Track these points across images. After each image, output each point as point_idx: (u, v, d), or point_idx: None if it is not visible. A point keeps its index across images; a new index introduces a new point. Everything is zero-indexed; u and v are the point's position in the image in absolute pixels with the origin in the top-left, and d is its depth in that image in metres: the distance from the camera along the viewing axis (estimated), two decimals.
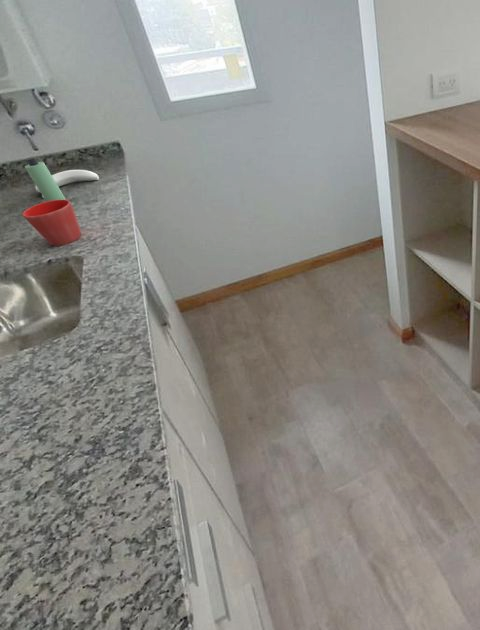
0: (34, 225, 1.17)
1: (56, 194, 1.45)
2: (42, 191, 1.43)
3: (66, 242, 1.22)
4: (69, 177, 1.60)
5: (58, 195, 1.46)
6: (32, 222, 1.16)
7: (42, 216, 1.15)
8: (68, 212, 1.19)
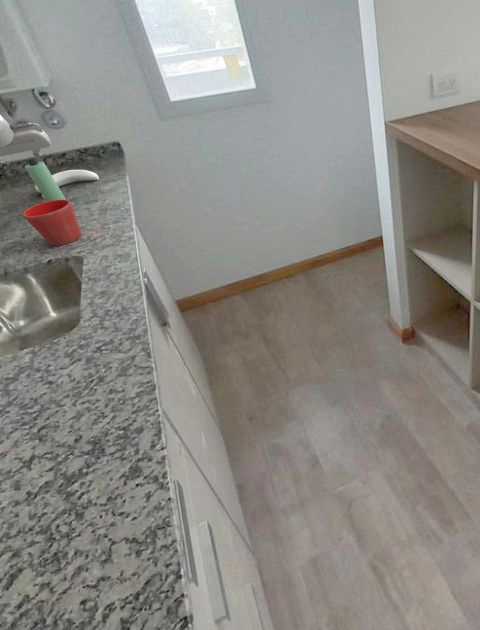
0: (34, 225, 1.17)
1: (56, 194, 1.45)
2: (42, 191, 1.43)
3: (66, 242, 1.22)
4: (69, 177, 1.60)
5: (58, 195, 1.46)
6: (32, 222, 1.16)
7: (42, 216, 1.15)
8: (68, 212, 1.19)
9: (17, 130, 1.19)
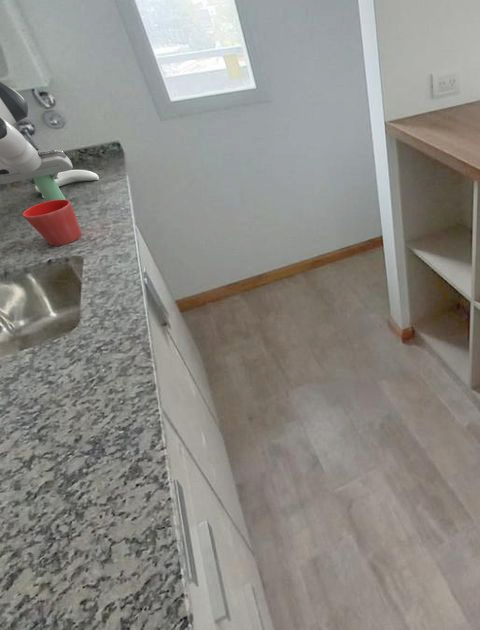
0: (34, 225, 1.17)
1: (56, 194, 1.45)
2: (42, 191, 1.43)
3: (66, 242, 1.22)
4: (69, 177, 1.60)
5: (58, 195, 1.46)
6: (32, 222, 1.16)
7: (42, 216, 1.15)
8: (68, 212, 1.19)
9: (44, 156, 1.34)
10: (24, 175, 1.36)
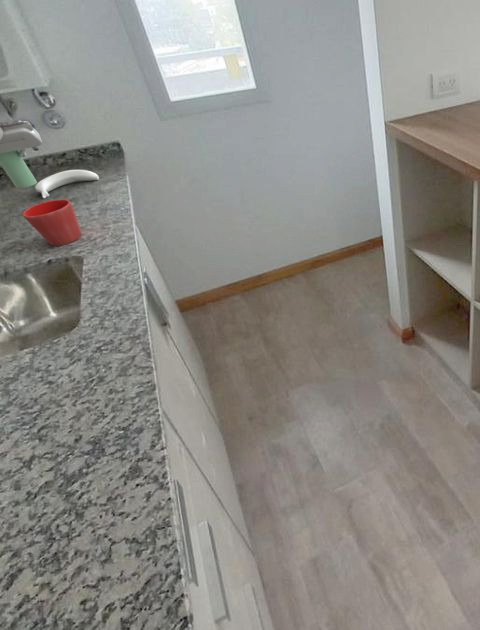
0: (34, 225, 1.17)
1: (24, 174, 1.26)
2: (7, 170, 1.23)
3: (66, 242, 1.22)
4: (69, 177, 1.60)
5: (26, 175, 1.26)
6: (32, 222, 1.16)
7: (42, 216, 1.15)
8: (68, 212, 1.19)
9: (6, 128, 1.14)
10: None
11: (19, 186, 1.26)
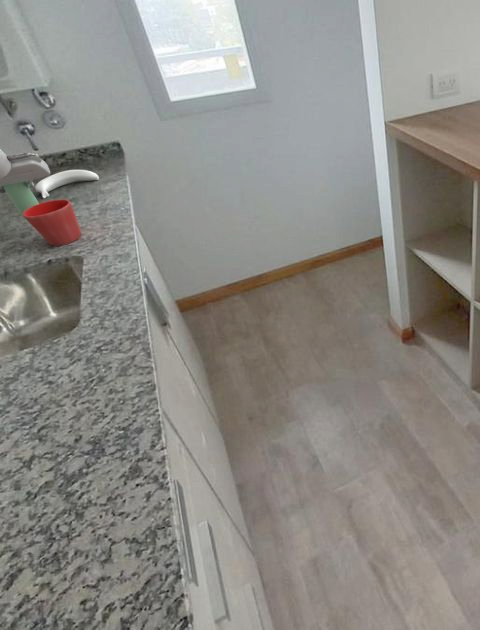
0: (34, 225, 1.17)
1: (31, 204, 1.24)
2: (14, 201, 1.21)
3: (66, 242, 1.22)
4: (69, 177, 1.60)
5: (33, 205, 1.24)
6: (32, 222, 1.16)
7: (42, 216, 1.15)
8: (68, 212, 1.19)
9: (14, 160, 1.12)
10: None
11: None
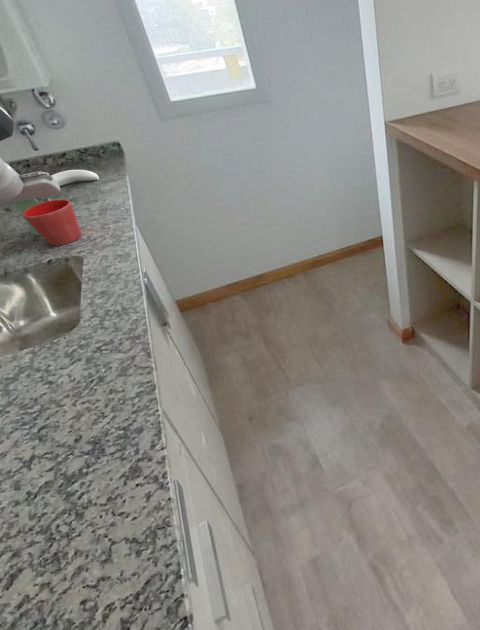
0: (34, 225, 1.17)
1: None
2: None
3: (66, 242, 1.22)
4: (69, 177, 1.60)
5: None
6: (32, 222, 1.16)
7: (42, 216, 1.15)
8: (68, 212, 1.19)
9: (26, 180, 1.15)
10: (4, 201, 1.17)
11: (38, 234, 1.28)
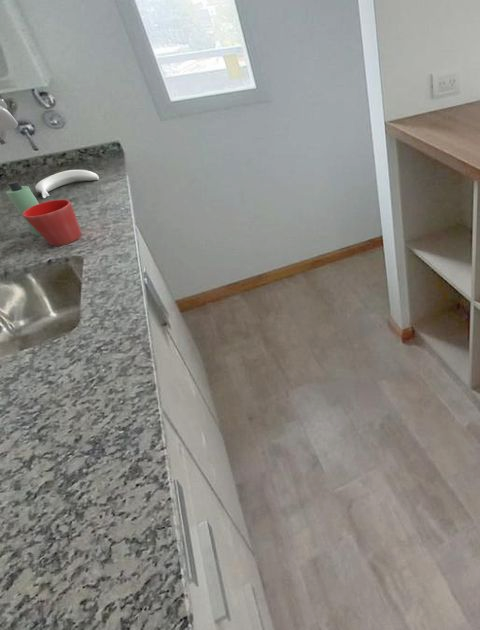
0: (34, 225, 1.17)
1: None
2: None
3: (66, 242, 1.22)
4: (69, 177, 1.60)
5: None
6: (32, 222, 1.16)
7: (42, 216, 1.15)
8: (68, 212, 1.19)
9: None
10: None
11: (38, 234, 1.28)
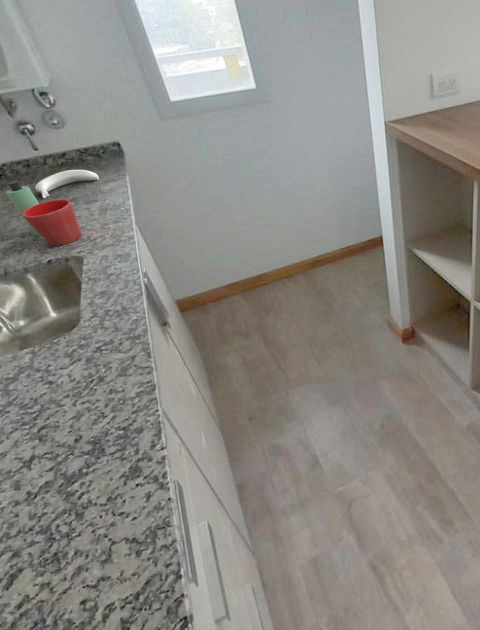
0: (34, 225, 1.17)
1: None
2: None
3: (66, 242, 1.22)
4: (69, 177, 1.60)
5: None
6: (32, 222, 1.16)
7: (42, 216, 1.15)
8: (68, 212, 1.19)
9: None
10: None
11: (38, 234, 1.28)
